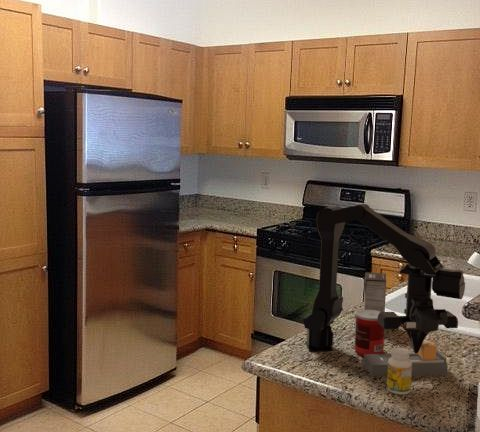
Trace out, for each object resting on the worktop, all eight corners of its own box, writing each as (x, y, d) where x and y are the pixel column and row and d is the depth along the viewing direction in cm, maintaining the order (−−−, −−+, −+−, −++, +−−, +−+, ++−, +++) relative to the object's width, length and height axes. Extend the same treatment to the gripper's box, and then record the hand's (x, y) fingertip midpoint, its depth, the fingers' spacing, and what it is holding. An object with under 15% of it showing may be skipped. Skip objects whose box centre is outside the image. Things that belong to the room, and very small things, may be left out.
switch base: (371, 376, 139) (372, 360, 138) (363, 365, 146) (364, 349, 145) (446, 375, 140) (447, 359, 140) (435, 363, 147) (436, 348, 147)
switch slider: (423, 360, 141) (424, 345, 140) (417, 354, 145) (418, 339, 144) (435, 359, 141) (436, 344, 141) (429, 353, 145) (430, 339, 145)
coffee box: (362, 320, 181) (364, 271, 179) (383, 322, 180) (385, 273, 178) (362, 330, 173) (365, 278, 170) (384, 331, 171) (387, 280, 169)
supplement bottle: (415, 393, 130) (417, 353, 129) (395, 396, 128) (398, 356, 127) (400, 383, 135) (402, 345, 134) (381, 387, 133) (383, 348, 132)
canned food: (384, 349, 157) (386, 311, 155) (381, 359, 150) (383, 319, 148) (356, 345, 160) (358, 308, 158) (352, 355, 152) (354, 316, 150)
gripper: (393, 302, 132) (390, 366, 134) (470, 301, 133) (466, 364, 135) (378, 289, 143) (375, 348, 145) (449, 288, 144) (446, 347, 146)
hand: (415, 352), depth 143 cm, fingers closed
